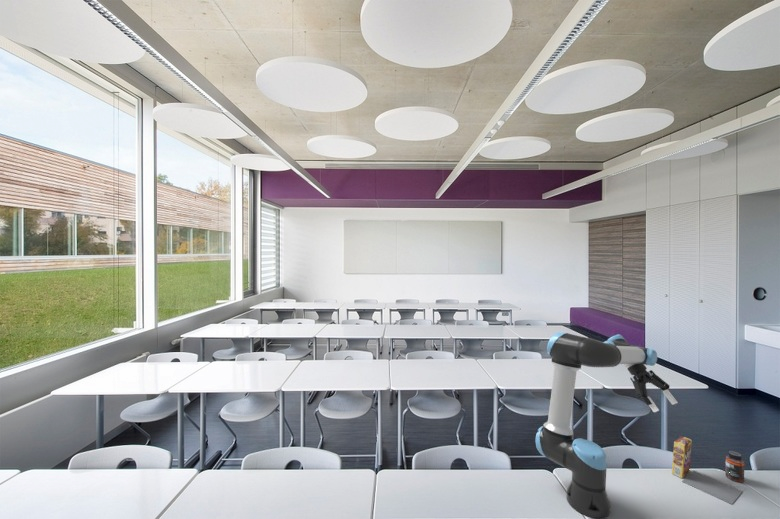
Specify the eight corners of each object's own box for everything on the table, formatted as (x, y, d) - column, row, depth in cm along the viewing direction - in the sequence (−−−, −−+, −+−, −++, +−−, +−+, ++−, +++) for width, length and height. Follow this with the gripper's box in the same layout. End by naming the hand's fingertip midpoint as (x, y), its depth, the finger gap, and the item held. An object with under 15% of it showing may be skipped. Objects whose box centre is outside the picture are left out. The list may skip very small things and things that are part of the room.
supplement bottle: (741, 477, 156) (742, 452, 155) (745, 484, 151) (747, 459, 150) (723, 472, 159) (724, 448, 159) (727, 479, 154) (728, 454, 154)
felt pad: (681, 481, 152) (681, 481, 152) (693, 471, 160) (693, 470, 160) (731, 504, 139) (731, 503, 139) (742, 491, 146) (742, 491, 146)
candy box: (683, 479, 154) (684, 445, 153) (671, 474, 157) (672, 440, 157) (690, 472, 159) (691, 439, 158) (678, 467, 162) (680, 435, 162)
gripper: (644, 362, 181) (676, 403, 169) (611, 373, 171) (642, 417, 159) (656, 356, 175) (689, 398, 163) (622, 367, 166) (655, 412, 154)
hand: (666, 407), depth 161 cm, fingers open, 13 cm apart
